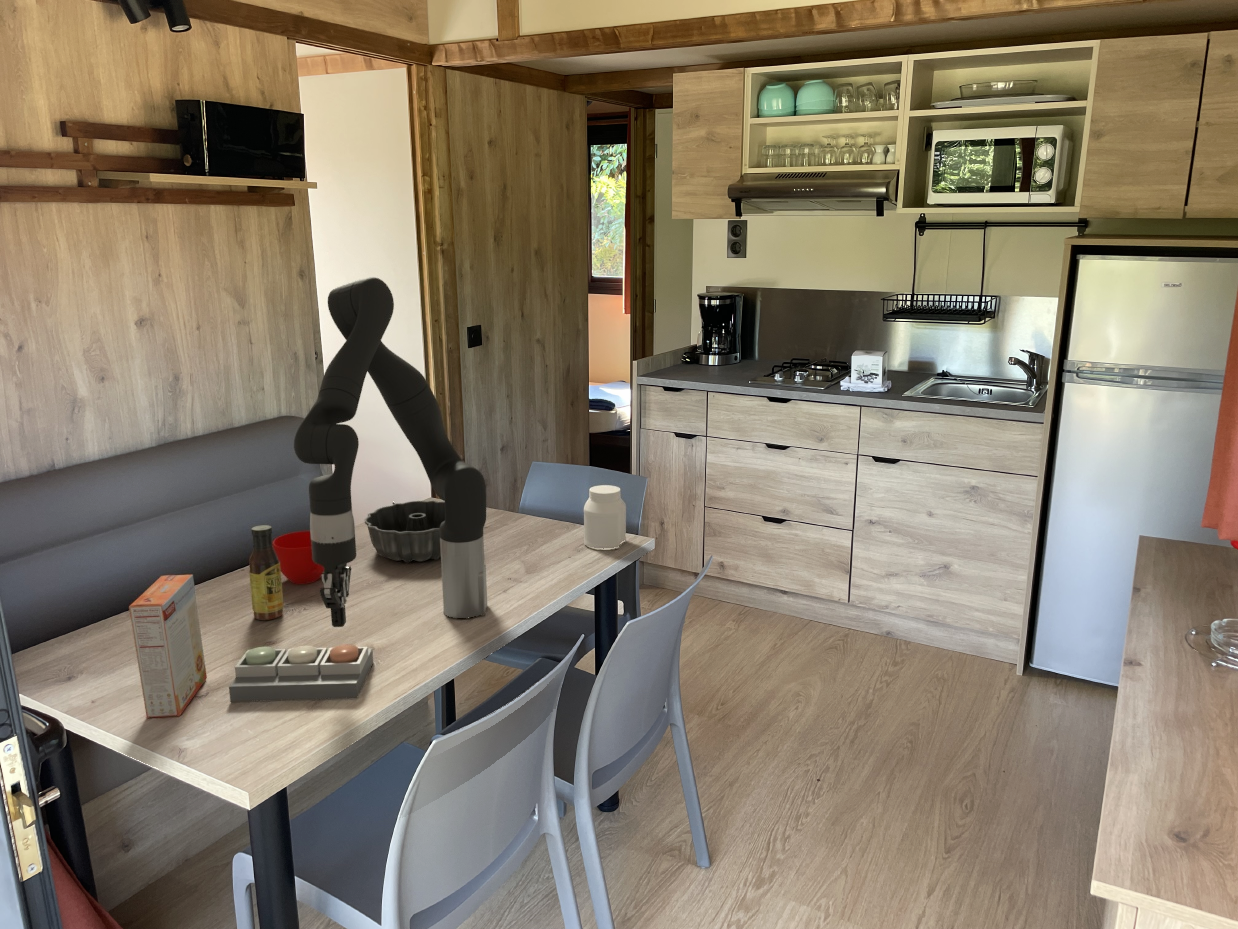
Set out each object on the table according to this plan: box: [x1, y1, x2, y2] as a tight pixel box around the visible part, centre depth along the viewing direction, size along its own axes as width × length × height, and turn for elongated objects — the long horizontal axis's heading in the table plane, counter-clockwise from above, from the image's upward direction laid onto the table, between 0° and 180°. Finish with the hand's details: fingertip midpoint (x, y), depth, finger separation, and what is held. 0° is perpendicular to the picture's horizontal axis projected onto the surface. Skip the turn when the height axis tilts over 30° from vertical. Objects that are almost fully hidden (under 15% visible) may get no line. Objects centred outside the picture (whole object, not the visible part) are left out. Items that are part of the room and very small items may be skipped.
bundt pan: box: [364, 499, 445, 563], centre depth 236 cm, size 26×26×10 cm
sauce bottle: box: [248, 524, 284, 621], centre depth 195 cm, size 7×6×20 cm
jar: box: [583, 484, 627, 549], centre depth 241 cm, size 12×10×15 cm
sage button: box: [245, 646, 276, 665], centre depth 167 cm, size 5×5×2 cm
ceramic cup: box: [272, 530, 324, 585], centre depth 216 cm, size 13×17×10 cm
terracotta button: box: [330, 644, 359, 663], centre depth 168 cm, size 5×5×2 cm
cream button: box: [288, 645, 317, 664], centre depth 167 cm, size 5×5×2 cm
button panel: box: [228, 646, 374, 703], centre depth 168 cm, size 22×14×5 cm, turn 93°
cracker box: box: [128, 574, 207, 719], centre depth 160 cm, size 14×6×21 cm, turn 5°
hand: (339, 625), depth 166 cm, fingers closed
